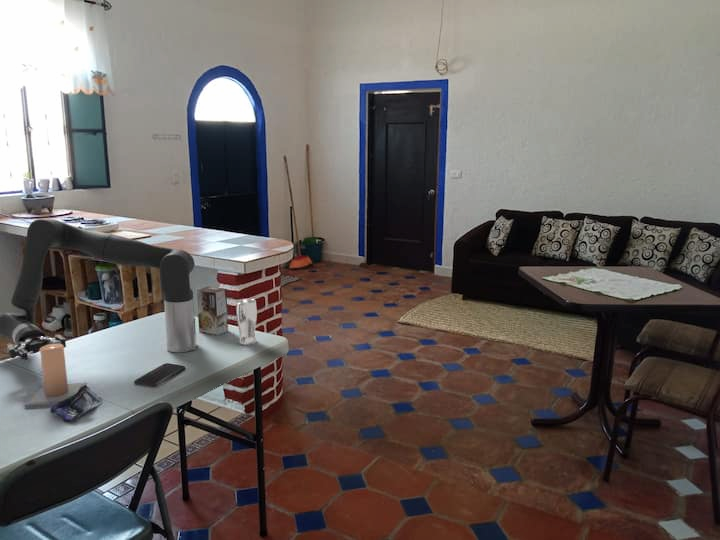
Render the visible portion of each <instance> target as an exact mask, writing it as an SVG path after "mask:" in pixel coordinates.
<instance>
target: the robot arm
mask: <svg viewBox="0 0 720 540" xmlns="http://www.w3.org/2000/svg"><path fill="white" fill-rule="evenodd" d="M50 248H60V249H69V250H74V251H78V252H80V253H84V254H86V255H87V256H89V257H92V258H94V259H96V260H99V261H103V262H105V263H111V264H113V265H114V264H115V265H119V266H128V267H129V266H131V267H150V268H154V269H158V270H159V276H160V277H159V278H160V288H161V292H162V295H163V300H164V301H163V302H164V317H165V319H164V320H165V332H166V333H165V334H166V347H167V351H169V352H171V353H185V352H189V351H195V350H196V347H197V334H196V333H197V332H196V318H195V308H194V307H195V306H194V305H195V304H194V292H193V288H191V285H190V284H191V283H190V274H191V273H192V271H193V270H194V269H195V260H194V257H193V256H192V255H191V254H190V253H189V252H188V251H185V250H183V249H177V248H169V247H162V246H158V245H157V246H156V245H153V244H149V243H145V242H142V241H139V240H136V239H132V238H128V237H126V236H121V235H117V234H114V233H109V232H103V231H98V230H97V231H96V230H88V229H84V228H80V227H78V226H74V225H71V224H69V223H66V222H63V221H60V220H57V219H55V218H53V219H52V218H37V219H35V220H33V221H32V222H31V223H30V224H29V226H28V228H27V232H26V237H25V246H24V252H23V258H22V264H21V268H20V273H19V276H18V279H17V282H16V285H15V289H14V291H13V294H12V297H11V300H10V303H11V305H12V306H13V307H15V308H18V309H20V310H22V311H24V314H21V313H14V312H5V313H3V314H0V335H2V336H4V337H6V338H8V339H11V340H13V343H14V344H13V343H7V344H6V347H7V354H8V356H9V357H10V359H15V358H16V357H18V358H20V359H21V360H24V361H26V360H28V359H29V357H28V356H29V355H34V354H37V353H40V348H41V347H43V346H45V345H49V344H62V345H63V346H64V348H66V347H67V344H66V343H67V341H66V338H65V337H63V336H62V335H61V334H55V335H54V337H52V338H51V337H47V336H46V333H45V332H44V331H42V330H41V328H39V327H38V326H37V325H36V306H37V302H38V300H39V297H40V293H41V292H42V291H41V290H42V287H43V281H44V280H43V279H44V278H43V277H44V276H43V275H44V273H43V271H44V270H43V269H44V263H45V259H46V256H47V254H48V252H49V250H50Z"/></svg>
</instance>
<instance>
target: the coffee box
mask: <svg viewBox="0 0 720 540" xmlns="http://www.w3.org/2000/svg"><path fill="white" fill-rule="evenodd" d="M227 295H228V293H227V288H221V287H215V286H214V287H213V286H204V287H202V288H199V289H197V290H196V302H197V303H196V304H197V316H198V317H197V318H198V332H199V331H200V332H199V333H203V332H206V333H205V334H209V333H211V334H210V335H214V334H216V335H215V336H220V335H222V334H224V333H227V332H228V331H229V319H228V318H229V316H228V298H227V297H228V296H227ZM221 333H222V334H221ZM219 334H220V335H219Z"/></svg>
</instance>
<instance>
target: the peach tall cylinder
mask: <svg viewBox="0 0 720 540" xmlns="http://www.w3.org/2000/svg"><path fill="white" fill-rule="evenodd" d="M39 353H40V354H39V355H40V360H41V369H42V370H41V372H42V379H43V385H44V389H45V395H46V396H47V397H57V396H61V395H64V394H66V393H67V392H68V384H69V383H68V376H67V375H68V374H67V366H66V358H65V357H66V356H65V347H64V346H63V345H62V344H55V343H53V344H49V345H45V346H43V347H41V348H40V351H39Z"/></svg>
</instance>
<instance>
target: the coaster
mask: <svg viewBox="0 0 720 540" xmlns="http://www.w3.org/2000/svg"><path fill="white" fill-rule="evenodd" d="M67 384H68V392H67V393H66V394H64V395H61V396H57V397H47V396H46V395H45V389H44V384H43V385H39V386H38V388H37V389H36V390H35V392H33V393H32V395H30V398H29V399H28V400H27V401H26V402H25V404H24V409H35V408H36V409H38V408H47V407H49V408H50V407H51V408H52V407H53V406H55V405H57V404H58V403H59V402H61V401H64V400H65V399H67V398H68V397H70V396H73V395H74V394H76V393H77V392H78V390H79V389H80V388H81V387H82V386H84V385H86V386H87V387H88V384H87V382H75V383H74V382H73V383H67ZM74 392H75V393H74ZM73 393H74V394H73Z"/></svg>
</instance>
